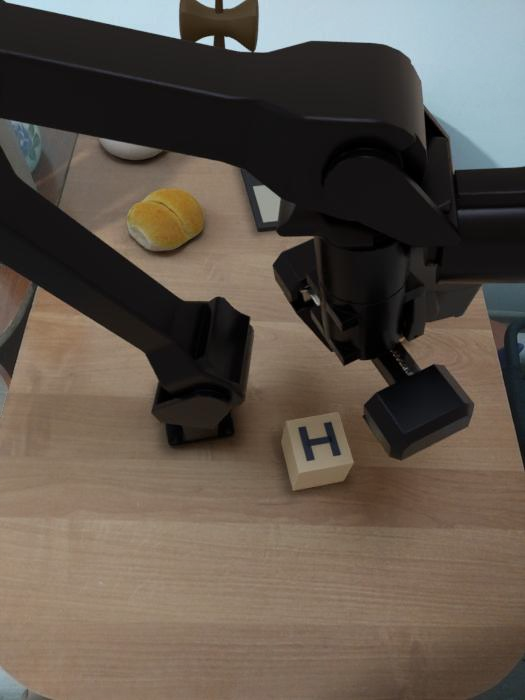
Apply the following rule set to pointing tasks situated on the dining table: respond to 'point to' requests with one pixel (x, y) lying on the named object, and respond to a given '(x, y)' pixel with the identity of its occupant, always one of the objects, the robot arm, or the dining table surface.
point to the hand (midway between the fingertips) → (361, 388)
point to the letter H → (316, 451)
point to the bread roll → (165, 219)
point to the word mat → (262, 203)
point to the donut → (128, 150)
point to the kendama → (220, 22)
